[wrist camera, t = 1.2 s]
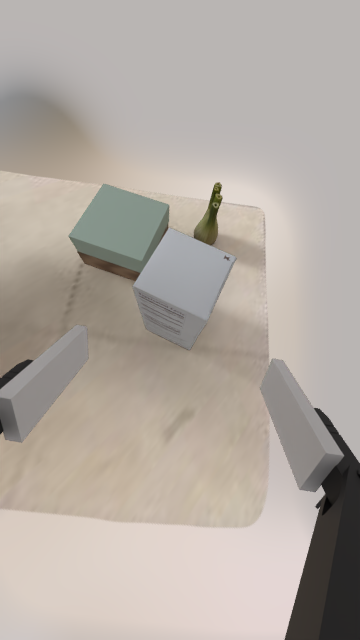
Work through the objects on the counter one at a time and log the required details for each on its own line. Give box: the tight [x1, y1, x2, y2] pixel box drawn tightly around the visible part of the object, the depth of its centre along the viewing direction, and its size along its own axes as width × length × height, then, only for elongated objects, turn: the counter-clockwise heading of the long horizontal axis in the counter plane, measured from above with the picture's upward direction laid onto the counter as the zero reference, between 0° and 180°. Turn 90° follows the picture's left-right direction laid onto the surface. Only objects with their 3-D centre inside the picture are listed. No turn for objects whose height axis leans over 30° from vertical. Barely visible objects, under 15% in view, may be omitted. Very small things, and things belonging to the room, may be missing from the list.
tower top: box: [69, 184, 169, 273], centre depth 38 cm, size 13×13×4 cm
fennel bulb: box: [194, 183, 222, 246], centre depth 40 cm, size 6×5×12 cm
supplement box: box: [132, 228, 236, 350], centre depth 31 cm, size 10×9×17 cm
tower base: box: [77, 225, 168, 281], centre depth 42 cm, size 13×13×4 cm
